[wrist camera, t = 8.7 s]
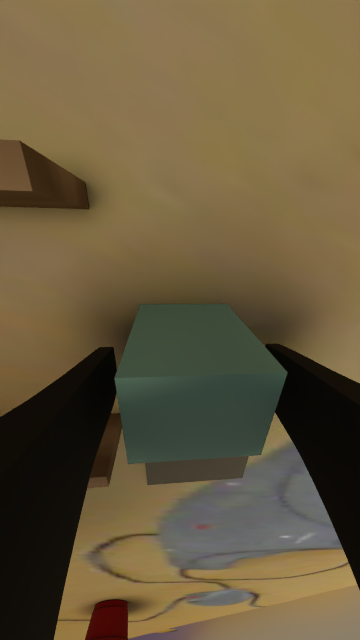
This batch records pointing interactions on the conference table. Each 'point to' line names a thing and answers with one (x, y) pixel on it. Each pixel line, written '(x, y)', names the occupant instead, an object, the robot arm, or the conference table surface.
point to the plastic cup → (109, 621)
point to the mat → (195, 470)
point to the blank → (195, 385)
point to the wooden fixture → (53, 192)
